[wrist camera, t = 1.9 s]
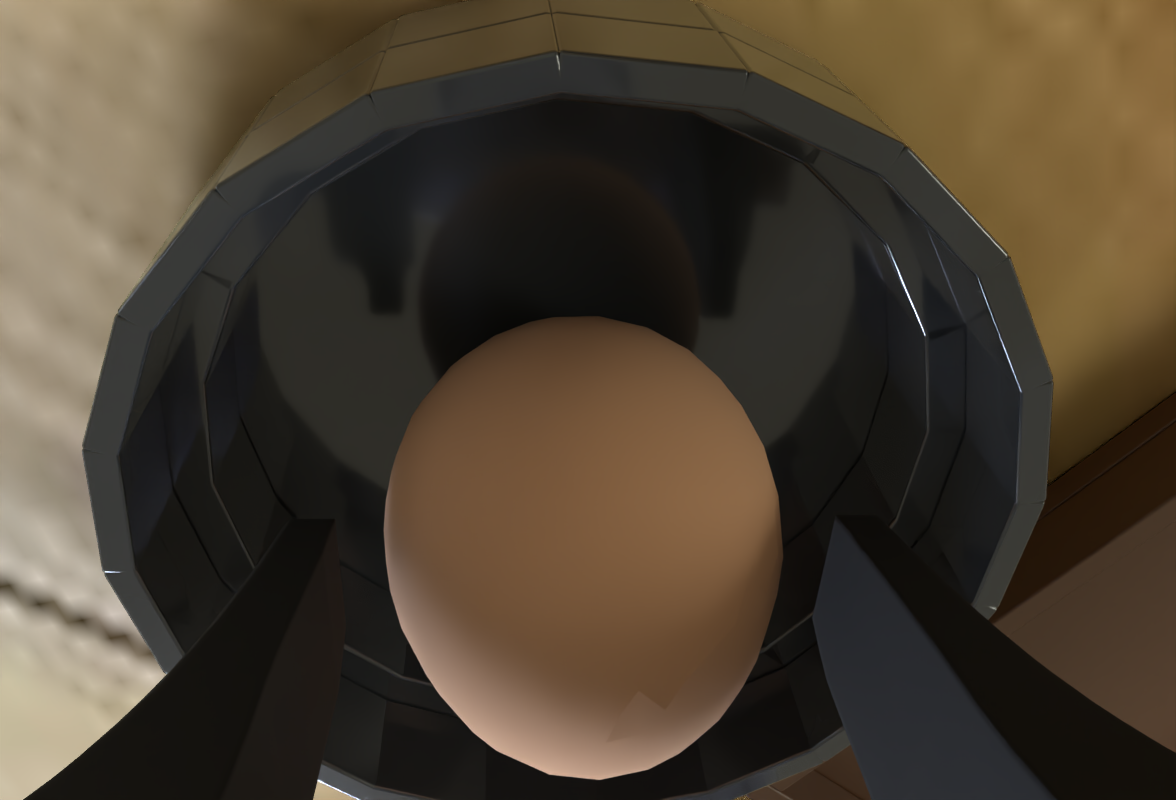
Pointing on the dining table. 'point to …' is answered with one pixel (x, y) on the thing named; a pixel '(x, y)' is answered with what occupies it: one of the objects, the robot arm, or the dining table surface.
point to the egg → (583, 544)
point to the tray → (1084, 594)
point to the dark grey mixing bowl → (562, 289)
